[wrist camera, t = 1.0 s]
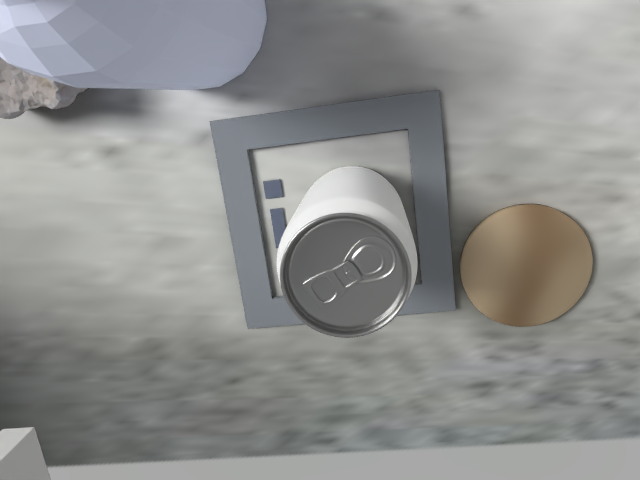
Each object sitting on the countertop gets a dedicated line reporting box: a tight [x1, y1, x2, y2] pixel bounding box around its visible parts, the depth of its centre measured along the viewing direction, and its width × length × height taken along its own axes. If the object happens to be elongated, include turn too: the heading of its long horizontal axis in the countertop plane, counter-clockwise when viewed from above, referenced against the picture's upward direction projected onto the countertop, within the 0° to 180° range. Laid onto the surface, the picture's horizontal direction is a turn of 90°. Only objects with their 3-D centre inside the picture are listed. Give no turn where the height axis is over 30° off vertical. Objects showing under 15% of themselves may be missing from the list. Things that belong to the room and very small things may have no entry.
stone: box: [0, 57, 87, 119], centre depth 30 cm, size 10×8×6 cm
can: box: [277, 166, 417, 338], centre depth 28 cm, size 6×6×12 cm
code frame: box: [210, 90, 456, 329], centre depth 34 cm, size 14×14×1 cm
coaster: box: [460, 204, 593, 327], centre depth 34 cm, size 8×8×1 cm
